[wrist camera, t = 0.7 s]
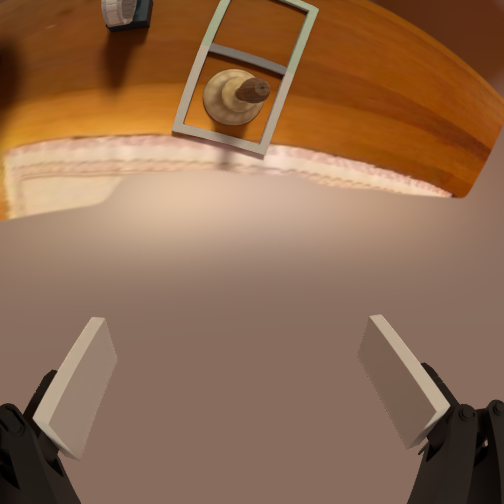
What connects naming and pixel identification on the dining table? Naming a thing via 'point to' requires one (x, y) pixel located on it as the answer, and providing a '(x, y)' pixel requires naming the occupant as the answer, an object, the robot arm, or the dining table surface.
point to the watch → (126, 14)
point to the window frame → (251, 59)
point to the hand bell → (234, 96)
